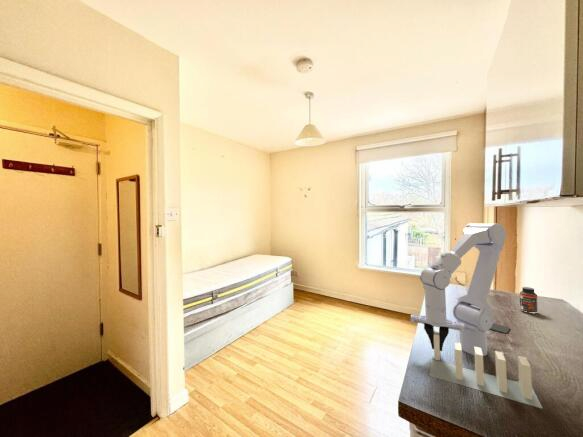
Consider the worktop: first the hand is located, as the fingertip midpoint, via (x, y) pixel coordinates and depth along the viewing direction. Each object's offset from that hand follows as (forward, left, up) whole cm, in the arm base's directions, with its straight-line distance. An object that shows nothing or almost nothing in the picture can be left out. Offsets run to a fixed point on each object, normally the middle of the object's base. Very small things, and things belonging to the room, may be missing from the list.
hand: (437, 348), depth 76 cm
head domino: (0, 0, -3) cm, 3 cm away
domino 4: (+8, +19, -2) cm, 21 cm away
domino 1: (+8, +5, -2) cm, 10 cm away
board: (+8, +10, -4) cm, 13 cm away
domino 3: (+8, +14, -2) cm, 16 cm away
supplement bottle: (-66, +35, -4) cm, 75 cm away
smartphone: (-38, +16, -4) cm, 42 cm away
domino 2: (+8, +10, -2) cm, 13 cm away
